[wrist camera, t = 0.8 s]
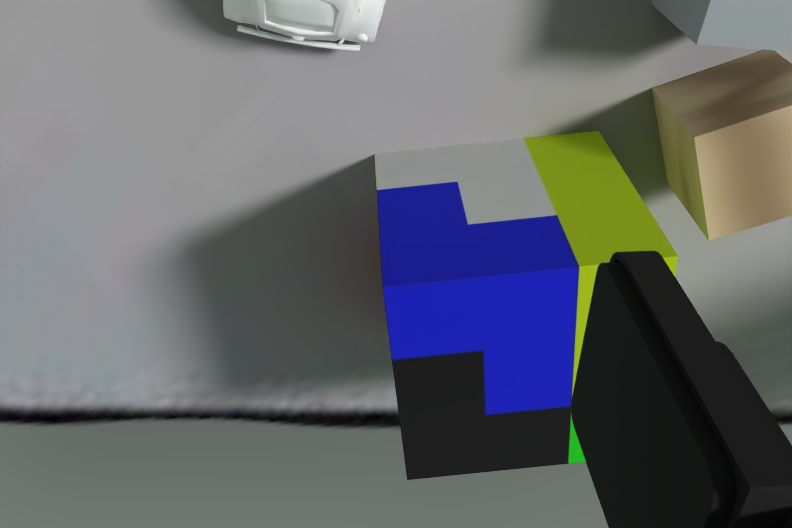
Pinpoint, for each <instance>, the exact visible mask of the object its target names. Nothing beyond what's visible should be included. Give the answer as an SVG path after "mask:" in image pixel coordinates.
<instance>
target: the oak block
mask: <svg viewBox="0 0 792 528" xmlns="http://www.w3.org/2000/svg"><path fill="white" fill-rule="evenodd" d="M652 94H653V99H654V105H655V111H656V117H657V123H658V129H659V135H660V140H661V146H662V152H663V158H664V164H665V170H666V175H667V181H668V184H669V186H670V187H671V189H672V190H673V191H674V193H675V194H676V196H677V197H678V198H679V200H680V201H681V203H682V204H683V205H684V207H685V208H686V210H687V211H688V212H689V214H690V215H691V216H692V218H693V219H694V221H695V222H696V223H697V225H698V226H699V228H700V229H701V230H702V232H703V233H704V235H705V236H706V237H707V239H708V240H709V241H710V240H713V239H717V238H720V237H723V236H726V235H730V234H733V233H736V232H739V231H743V230H746V229H749V228H752V227H756V226H759V225H762V224H765V223H768V222H772V221H775V220H778V219H781V218H785V217H788V216H791V215H792V64H791V63H790V62H788V61H787V60H786V59H784V58H783V57H782V56H780V55H779V54H778V53H776V52H775V51H774V50H761V51H758V52H755V53H752V54H749V55H746V56H744V57H741V58H738V59H735V60H732V61H729V62H726V63H723V64H720V65H717V66H714V67H712V68H709V69H706V70H703V71H700V72H697V73H694V74H691V75H688V76H685V77H682V78H679V79H677V80H674V81H671V82H668V83H665V84H662V85H659V86H656V87H653V88H652Z"/></svg>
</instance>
